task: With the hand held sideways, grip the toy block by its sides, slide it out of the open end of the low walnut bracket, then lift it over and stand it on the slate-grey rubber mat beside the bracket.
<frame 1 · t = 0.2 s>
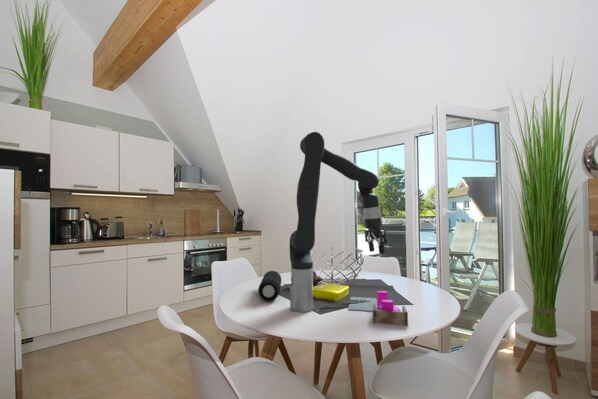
hand: (377, 252, 134), 22 cm above the table, tool pointing down, fingers open, 8 cm apart
walnut bracket: (388, 314, 116), on the table
element tile: (330, 296, 143), on the table
toy block: (388, 315, 115), on the table
portable speaker: (270, 295, 145), on the table
pine cone: (307, 287, 158), on the table
slate mat: (363, 304, 129), on the table
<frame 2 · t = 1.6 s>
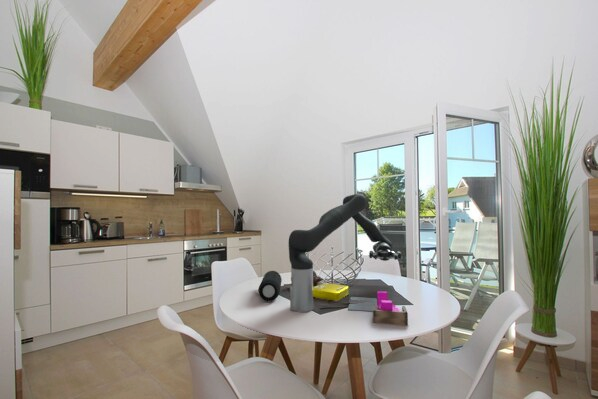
hand: (385, 257, 130), 20 cm above the table, tool horizontal, fingers open, 8 cm apart
nothing on the table moved.
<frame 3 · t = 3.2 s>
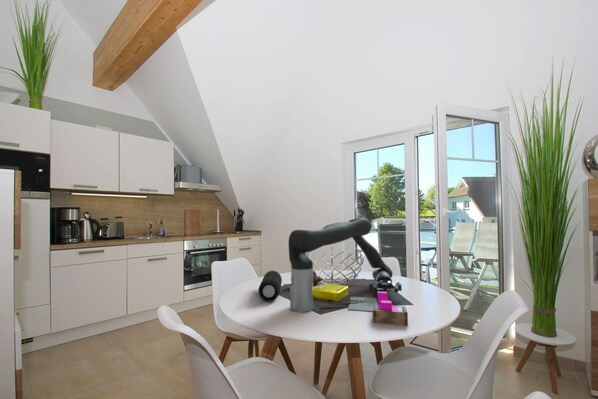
hand: (386, 290, 129), 6 cm above the table, tool horizontal, fingers open, 8 cm apart
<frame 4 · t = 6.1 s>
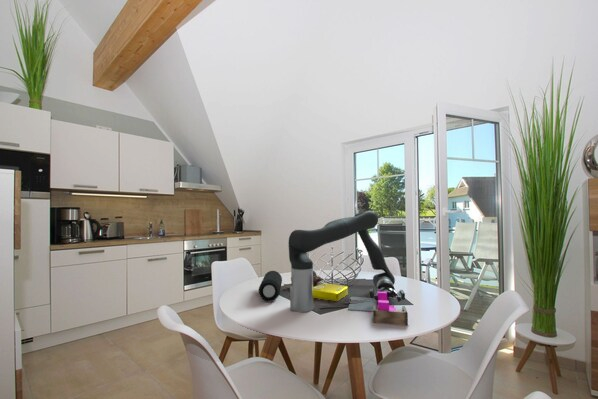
hand: (387, 298, 116), 6 cm above the table, tool horizontal, fingers open, 8 cm apart
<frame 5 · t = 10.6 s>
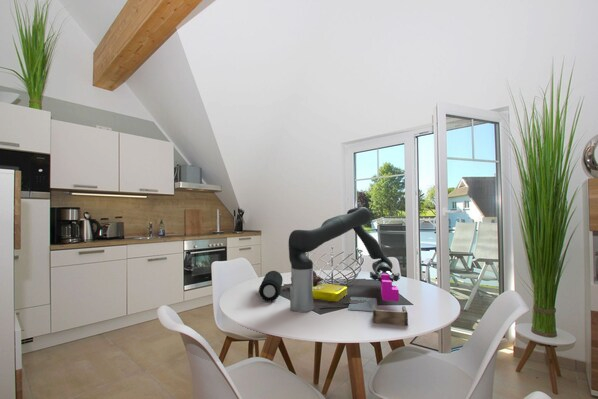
hand: (385, 280, 126), 11 cm above the table, tool horizontal, fingers closed on toy block, 3 cm apart
toy block: (389, 296, 125), point 5 cm above the table, touching gripper
when the fingers open (7 cm above the table, at t = 14.4 s): toy block stays where it is, resting on slate mat.
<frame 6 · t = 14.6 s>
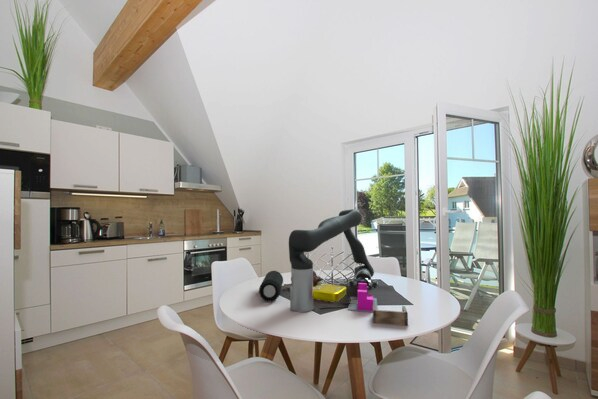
hand: (362, 287, 129), 7 cm above the table, tool horizontal, fingers open, 5 cm apart
toy block: (365, 305, 127), resting on slate mat
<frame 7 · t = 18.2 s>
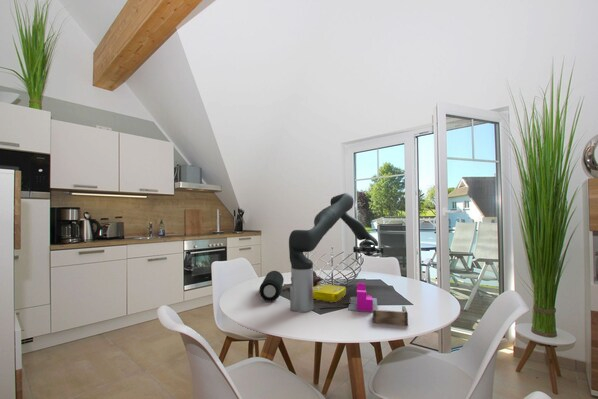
hand: (368, 251, 136), 22 cm above the table, tool horizontal, fingers open, 8 cm apart
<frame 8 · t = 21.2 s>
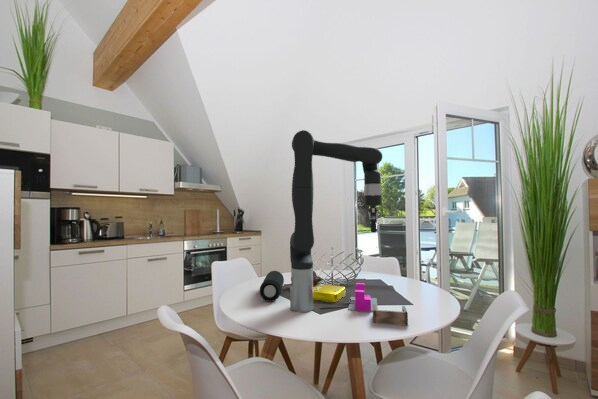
hand: (373, 231, 128), 32 cm above the table, tool pointing down, fingers open, 8 cm apart
at the end: toy block inside the target area on the slate mat (1.8 cm from its centre), point 0.2 cm above the slate mat's base; toy block tilted 0°; the gripper is holding nothing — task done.
